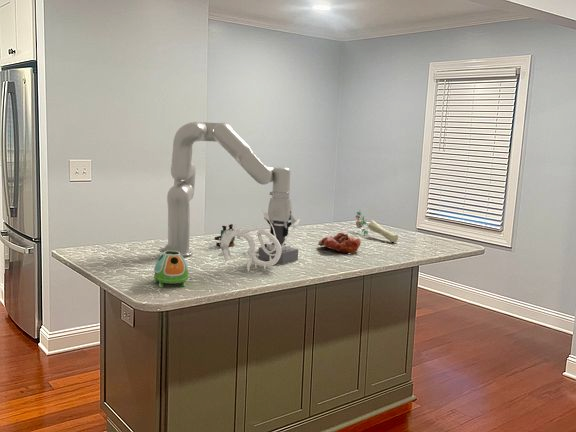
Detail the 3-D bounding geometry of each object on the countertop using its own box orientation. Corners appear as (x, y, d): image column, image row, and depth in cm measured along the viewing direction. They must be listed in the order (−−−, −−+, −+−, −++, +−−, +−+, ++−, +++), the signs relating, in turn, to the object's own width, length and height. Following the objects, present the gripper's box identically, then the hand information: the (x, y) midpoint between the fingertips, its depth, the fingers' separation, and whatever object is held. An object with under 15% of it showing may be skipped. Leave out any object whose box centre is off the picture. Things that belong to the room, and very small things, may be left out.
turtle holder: (180, 274, 223) (181, 245, 221) (192, 287, 207) (192, 255, 205) (148, 276, 218) (149, 246, 216) (157, 290, 202) (158, 257, 200)
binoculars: (222, 223, 284) (237, 224, 278) (223, 244, 285) (238, 245, 279) (209, 225, 277) (224, 226, 271) (210, 246, 278) (225, 248, 272)
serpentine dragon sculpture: (300, 255, 258) (289, 201, 256) (321, 258, 240) (310, 200, 238) (211, 280, 240) (198, 222, 238) (226, 284, 222) (213, 222, 220)
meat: (309, 246, 286) (310, 226, 284) (346, 244, 295) (347, 225, 293) (329, 256, 267) (330, 235, 266) (367, 253, 276) (369, 233, 275)
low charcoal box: (282, 264, 247) (283, 248, 246) (258, 258, 255) (258, 243, 254) (297, 260, 255) (298, 244, 254) (273, 254, 264) (274, 239, 263)
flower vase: (386, 256, 304) (345, 230, 330) (403, 248, 309) (362, 223, 336) (385, 238, 298) (344, 213, 324) (403, 230, 303) (361, 206, 330)
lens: (282, 244, 251) (283, 222, 249) (270, 243, 253) (271, 220, 251) (286, 242, 256) (287, 220, 254) (275, 241, 258) (276, 219, 256)
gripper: (259, 194, 250) (258, 235, 253) (295, 198, 244) (293, 239, 247) (266, 192, 257) (265, 232, 260) (301, 196, 251) (299, 236, 254)
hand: (279, 235), depth 254 cm, fingers closed on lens, 5 cm apart
